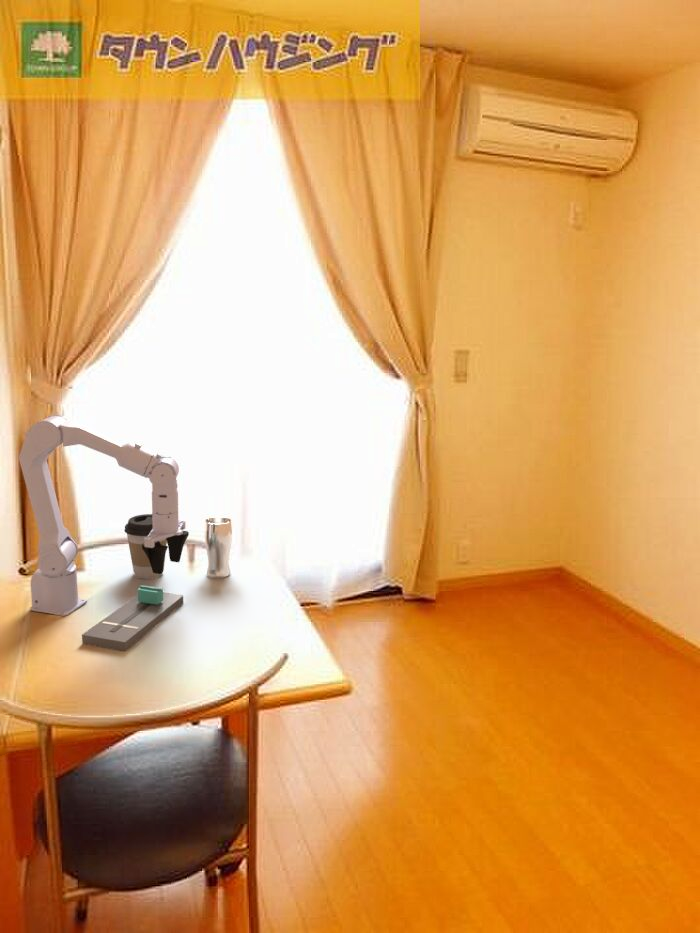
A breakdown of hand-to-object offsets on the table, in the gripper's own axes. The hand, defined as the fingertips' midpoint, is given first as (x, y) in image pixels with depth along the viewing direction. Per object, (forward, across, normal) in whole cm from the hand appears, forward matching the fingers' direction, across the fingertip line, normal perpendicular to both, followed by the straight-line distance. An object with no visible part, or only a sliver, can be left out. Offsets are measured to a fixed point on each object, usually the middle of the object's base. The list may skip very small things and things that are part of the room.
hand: (166, 567), depth 152 cm
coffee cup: (+10, +15, +14) cm, 23 cm away
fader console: (+10, -10, +2) cm, 14 cm away
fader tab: (+7, -4, +2) cm, 8 cm away
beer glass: (+10, +21, -3) cm, 23 cm away
